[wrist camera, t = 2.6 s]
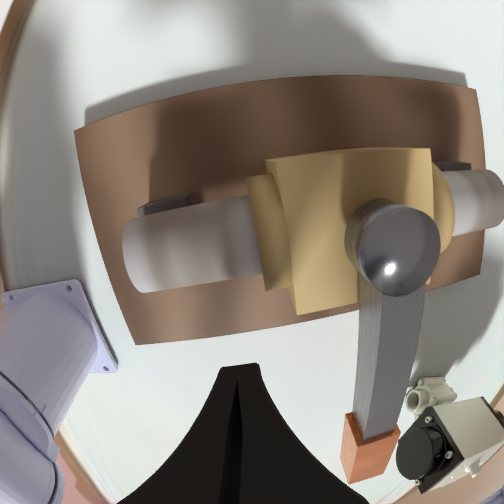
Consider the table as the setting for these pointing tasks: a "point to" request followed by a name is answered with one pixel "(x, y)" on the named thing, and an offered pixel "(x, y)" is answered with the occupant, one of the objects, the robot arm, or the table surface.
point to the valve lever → (385, 324)
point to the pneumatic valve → (446, 435)
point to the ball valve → (276, 196)
